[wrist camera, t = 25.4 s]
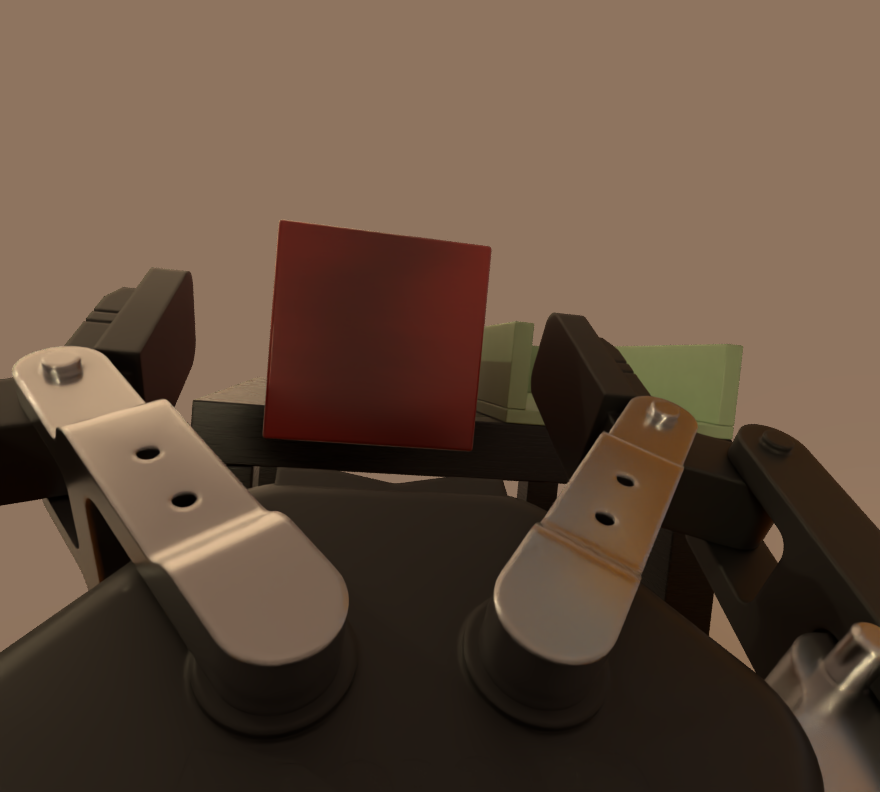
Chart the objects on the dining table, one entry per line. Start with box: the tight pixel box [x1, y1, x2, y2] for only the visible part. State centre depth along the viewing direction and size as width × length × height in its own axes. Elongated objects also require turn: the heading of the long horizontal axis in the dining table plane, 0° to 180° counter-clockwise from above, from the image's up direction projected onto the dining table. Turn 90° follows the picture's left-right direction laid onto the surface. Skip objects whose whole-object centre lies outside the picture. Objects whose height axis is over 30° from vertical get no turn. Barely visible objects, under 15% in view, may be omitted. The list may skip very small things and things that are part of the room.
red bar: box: [263, 220, 491, 451], centre depth 24 cm, size 4×24×4 cm, turn 10°
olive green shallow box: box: [476, 321, 743, 440], centre depth 31 cm, size 9×18×4 cm, turn 10°
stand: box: [191, 377, 732, 636], centre depth 31 cm, size 19×18×32 cm
